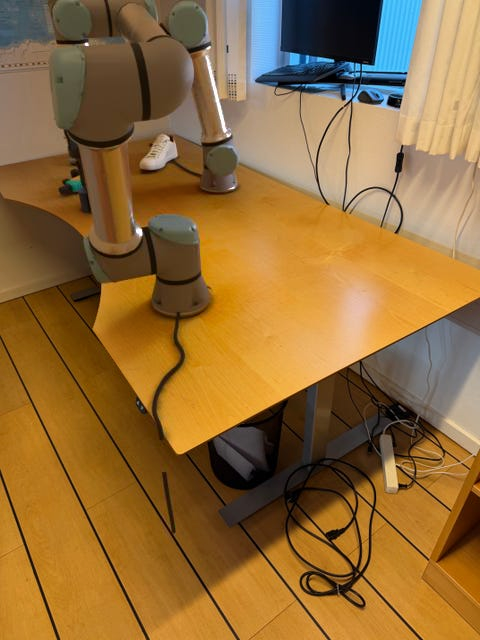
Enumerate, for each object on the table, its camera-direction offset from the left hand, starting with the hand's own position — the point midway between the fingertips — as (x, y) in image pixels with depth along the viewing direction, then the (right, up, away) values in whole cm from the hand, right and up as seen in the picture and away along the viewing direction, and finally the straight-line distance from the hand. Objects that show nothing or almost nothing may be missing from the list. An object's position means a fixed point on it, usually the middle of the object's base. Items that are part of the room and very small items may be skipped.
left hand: (93, 152), depth 128 cm
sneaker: (+2, +26, +90) cm, 94 cm away
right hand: (-16, -3, +49) cm, 52 cm away
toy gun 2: (-28, +10, +68) cm, 74 cm away
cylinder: (-16, -4, +49) cm, 52 cm away
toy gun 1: (-30, +29, +94) cm, 103 cm away
